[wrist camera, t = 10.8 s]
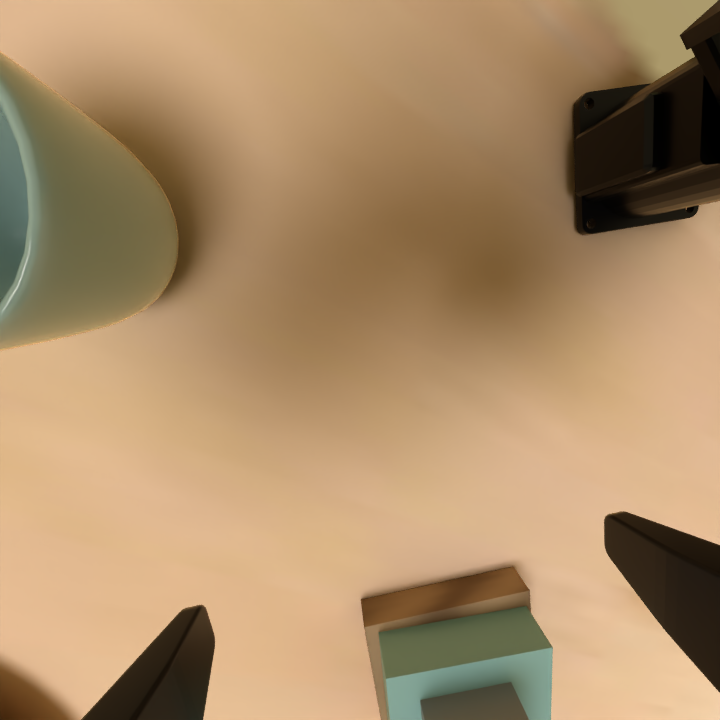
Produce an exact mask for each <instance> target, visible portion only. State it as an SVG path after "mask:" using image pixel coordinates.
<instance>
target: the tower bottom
mask: <svg viewBox="0 0 720 720" xmlns="http://www.w3.org/2000/svg"><path fill="white" fill-rule="evenodd" d="M361 604H362V613H363V621H364V629H365V634H366V640H367V645H368V651H369V656H370V661H371V667H372V672H373V678H374V683H375V689H376V694H377V700H378V705H379V711H380V716H381V720H388V718H387V709H386V700H385V690H384V681H383V671H382V662H381V652H380V643H379V634H378V632H383V631H389V630H394V629H400V628H405V627H411V626H417V625H422V624H428V623H434V622H439V621H445V620H450V619H456V618H462V617H467V616H473V615H479V614H484V613H490V612H495V611H501V610H507V609H512V608H518V607H524V606H527V608H528V609H529V611H530V613H531V608H530V590H529V589H528V587H527V586H526V585H525V583H524V582H523V580H522V579H521V577H520V576H519V574H518V573H517V571H516V570H515V568H514V567H509V568H504V569H500V570H495V571H490V572H486V573H481V574H477V575H472V576H467V577H463V578H458V579H454V580H449V581H444V582H440V583H435V584H431V585H426V586H421V587H417V588H412V589H408V590H403V591H398V592H394V593H389V594H385V595H380V596H375V597H371V598H366V599H362V600H361Z"/></svg>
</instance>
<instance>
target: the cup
mask: <svg viewBox="0 0 720 720" xmlns="http://www.w3.org/2000/svg"><path fill="white" fill-rule="evenodd" d="M178 252H179V235H178V229H177V222H176V218H175V215H174V212H173V209H172V207H171V204H170V201H169V199H168V197H167V196H166V194H165V192H164V191H163V189H162V187H161V185H160V184H159V182H158V181H157V179H156V178H155V177H154V176H153V175H152V174H151V172H150V171H149V170H148V169H147V168H146V167H145V166H144V165H143V164H142V163H141V161H140V160H139V159H138V158H137V157H136V156H135V155H134V154H133V153H132V152H131V151H130V150H129V149H128V148H127V147H126V146H125V145H124V144H122V143H121V142H120V141H119V140H118V139H117V138H115V137H114V136H113V135H112V134H111V133H109V132H108V131H107V130H106V129H104V128H103V127H102V126H100V125H99V124H98V123H97V122H95V121H94V120H93V119H91V118H90V117H89V116H87V115H86V114H85V113H84V112H82V111H81V110H80V109H78V108H77V107H76V106H74V105H73V104H72V103H70V102H69V101H68V100H66V99H65V98H64V97H62V96H61V95H60V94H58V93H57V92H56V91H54V90H53V89H52V88H50V87H49V86H48V85H46V84H45V83H44V82H42V81H41V80H39V79H38V78H37V77H35V76H34V75H33V74H31V73H30V72H29V71H27V70H26V69H24V68H23V67H22V66H20V65H19V64H18V63H16V62H15V61H13V60H12V59H11V58H9V57H8V56H7V55H5V54H4V53H3V52H1V51H0V351H3V350H8V349H13V348H18V347H23V346H28V345H33V344H38V343H43V342H47V341H52V340H57V339H61V338H65V337H69V336H74V335H78V334H82V333H85V332H89V331H93V330H97V329H101V328H104V327H108V326H111V325H114V324H117V323H120V322H122V321H124V320H126V319H128V318H130V317H132V316H134V315H136V314H138V313H140V312H142V311H144V310H145V309H146V308H148V307H149V306H150V305H151V304H152V303H154V302H155V301H156V300H157V299H158V298H159V297H160V296H161V294H162V293H163V291H164V290H165V288H166V287H167V286H168V284H169V282H170V281H171V278H172V276H173V273H174V271H175V268H176V263H177V258H178Z"/></svg>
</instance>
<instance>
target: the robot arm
mask: <svg viewBox="0 0 720 720" xmlns="http://www.w3.org/2000/svg"><path fill="white" fill-rule="evenodd" d="M680 37H681V39H682V41H683V43H684V45H685V47H686V49H687V50H688V49H690V48H691V49H692V51H693V53H694V55H695V57H694V58H692V59H690V60H689V61H687V62H686V63H684V64H682V65H681V66H679V67H677V68H676V69H674V70H673V71H671V72H669V73H668V74H666V75H664V76H663V77H661V78H660V79H658V80H656V81H655V82H653V83H652V84H644V85H637V86H630V87H622V88H615V89H608V90H600V91H593V92H588V93H585V94H584V95H583V96H581V97H580V98H579V99H578V100H577V101H576V102H575V104H574V139H575V141H574V157H575V192H576V215H577V230H578V232H579V233H580V234H582V235H589V234H595V233H601V232H607V231H613V230H619V229H625V228H631V227H638V226H644V225H650V224H656V223H662V222H668V221H674V220H680V219H686V218H690V217H693V216H694V215H695V214H696V213H697V211H698V207H699V205H702V204H706V203H711V202H716V201H720V0H719V1H717V2H716V3H715V4H714V5H713V6H712V7H711V8H710V9H709V10H707V11H706V12H705V13H704V14H703V15H702V16H701V17H700V18H699V19H697V20H696V21H695V22H694V23H693V24H692V25H691V26H690V27H688V28H687V29H686V30H685V31H684V32H683V33H682V34H681V35H680ZM585 102H586V103H587V104H588V109H586V108H585V106H584V103H585ZM685 208H687V210H686V209H685ZM587 221H589V222H590V227H589V228H588V227H587ZM604 544H605V549H606V552H607V554H608V556H609V557H610V559H611V560H612V561H613V563H614V564H615V565H616V567H617V568H618V569H619V571H620V572H621V573H622V575H623V576H624V577H625V579H626V580H627V581H628V583H629V584H630V585H631V587H632V588H633V589H634V590H635V592H636V593H637V594H638V596H639V597H640V598H641V600H642V601H643V602H644V604H645V605H646V606H647V608H648V609H649V610H650V612H651V613H652V614H653V616H654V617H655V618H656V619H657V621H658V622H659V623H660V624H661V626H662V627H663V628H664V629H665V631H666V632H667V633H668V634H669V635H670V637H671V638H672V639H673V640H674V641H675V642H676V644H677V645H678V646H679V647H680V648H681V649H682V650H683V651H684V653H685V654H686V655H687V656H688V657H689V658H690V659H691V661H692V662H693V663H694V664H695V665H696V666H697V667H698V669H699V670H700V671H701V672H702V673H703V674H704V675H705V676H706V678H707V679H708V680H709V681H710V682H711V683H712V684H713V686H714V687H715V688H716V689H717V690H718V691H719V692H720V545H718V544H715V543H712V542H709V541H707V540H704V539H701V538H698V537H695V536H693V535H690V534H687V533H684V532H681V531H678V530H676V529H673V528H670V527H667V526H664V525H662V524H659V523H656V522H653V521H650V520H648V519H645V518H642V517H639V516H636V515H634V514H631V513H628V512H617V513H612V514H608V515H607V516H606V517H605V519H604ZM214 649H215V637H214V632H213V629H212V626H211V623H210V619H209V616H208V613H207V610H206V608H205V607H204V606H203V605H197V606H193V607H188V608H185V609H183V610H182V611H181V612H179V614H178V615H177V616H176V617H175V618H174V619H173V620H172V621H171V622H170V623H169V624H168V626H167V627H166V628H165V629H164V630H163V631H162V632H161V633H160V634H159V635H158V636H157V638H156V639H155V640H154V641H153V642H152V643H151V644H150V645H149V646H148V647H147V648H146V650H145V651H144V652H143V653H142V654H141V655H140V656H139V657H138V658H137V659H136V660H135V662H134V663H133V664H132V665H131V666H130V667H129V668H128V669H127V670H126V671H125V672H124V674H123V675H122V676H121V677H120V678H119V679H118V680H117V681H116V682H115V683H114V685H113V686H112V687H111V688H110V689H109V690H108V691H107V692H106V693H105V694H104V695H103V697H102V698H101V699H100V700H99V701H98V702H97V703H96V704H95V705H94V706H93V707H92V709H91V710H90V711H89V712H88V713H87V714H86V715H85V716H84V717H83V718H82V719H81V720H203V717H204V710H205V704H206V698H207V692H208V686H209V680H210V673H211V667H212V661H213V655H214Z"/></svg>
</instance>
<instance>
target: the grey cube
mask: <svg viewBox="0 0 720 720" xmlns="http://www.w3.org/2000/svg"><path fill="white" fill-rule="evenodd" d="M420 705H421V716H422V720H529V718H528V716H527V714H526V712H525V710H524V708H523V706H522V704H521V702H520V700H519V697H518V695H517V693H516V691H515V689H514V687H513V685H512V683H511V682H508V683H503V684H498V685H493V686H488V687H483V688H478V689H473V690H468V691H463V692H458V693H453V694H448V695H443V696H438V697H433V698H428V699H423V700H420Z"/></svg>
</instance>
